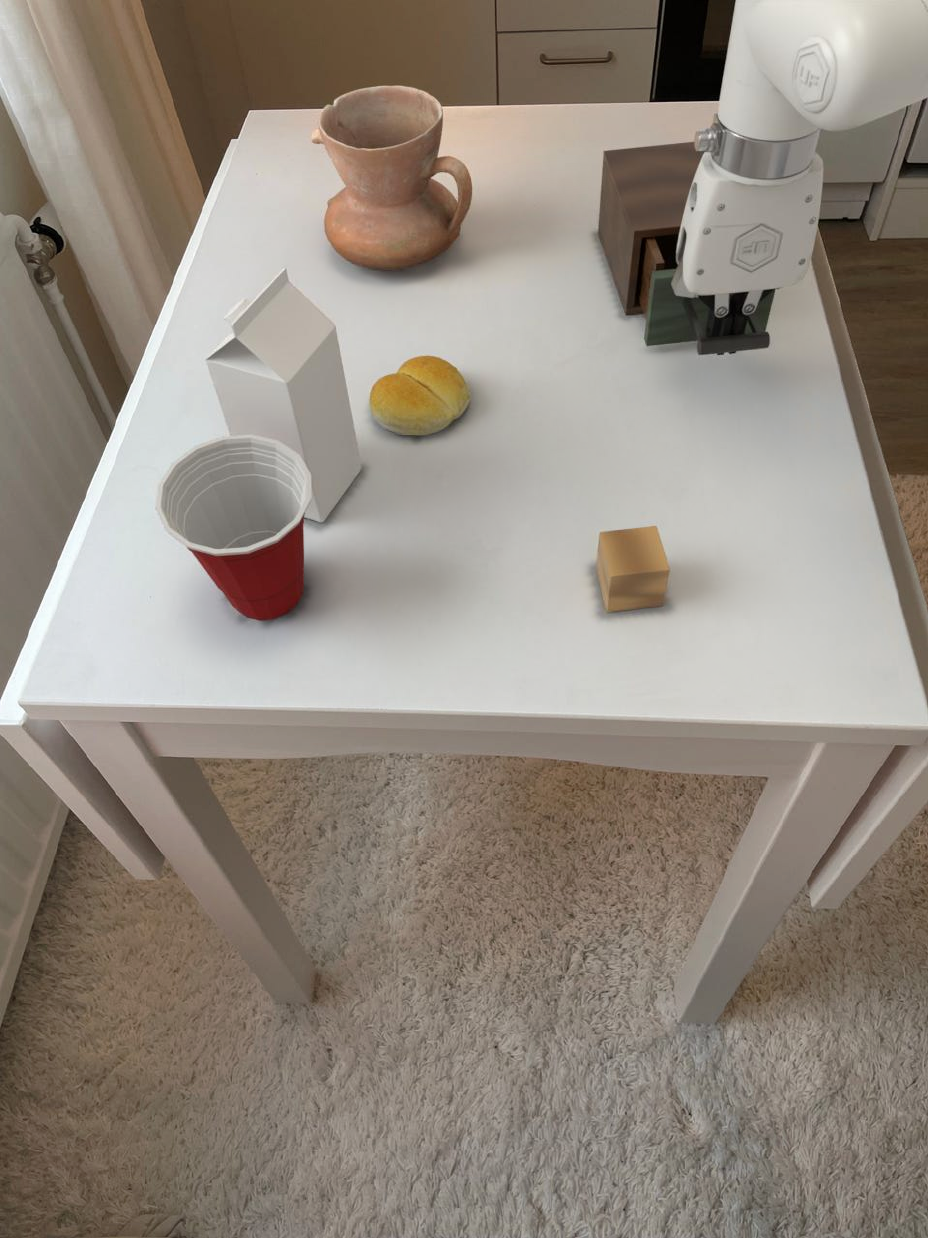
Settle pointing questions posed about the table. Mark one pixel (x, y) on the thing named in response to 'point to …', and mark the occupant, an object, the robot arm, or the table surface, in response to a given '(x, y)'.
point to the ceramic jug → (390, 178)
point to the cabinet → (641, 206)
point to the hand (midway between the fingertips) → (722, 344)
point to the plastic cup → (242, 519)
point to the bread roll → (420, 397)
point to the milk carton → (289, 386)
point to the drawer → (686, 306)
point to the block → (632, 568)
